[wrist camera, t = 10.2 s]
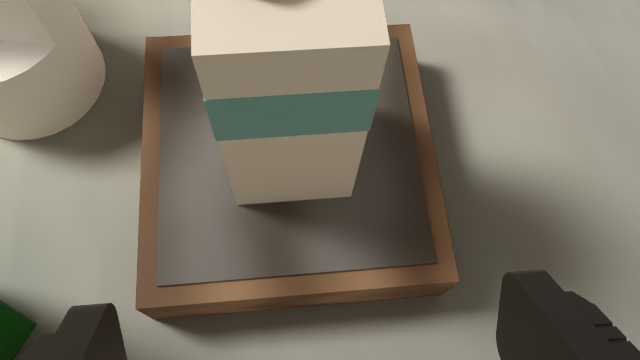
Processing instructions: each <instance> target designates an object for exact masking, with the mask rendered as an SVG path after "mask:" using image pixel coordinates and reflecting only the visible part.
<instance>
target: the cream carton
mask: <svg viewBox="0 0 640 360" xmlns="http://www.w3.org/2000/svg"><path fill="white" fill-rule="evenodd" d="M389 48H390V40H389V35H388V29H387V23H386V18H385V12H384V6H383V0H191V57H192V60H193V63H194V67H195V70H196V73H197V76H198V80H199V83H200V86H201V89H202V93H203V102H204V105H205V108H206V112H207V115H208V118H209V121H210V124H211V127H212V131H213V134H214V137H215V140H216V141H218V145H219V148H220V151H221V154H222V158H223V161H224V164H225V167H226V171H227V174H228V177H229V180H230V184H231V187H232V190H233V193H234V197H235V200H236V203H237V205H245V204H258V203H272V202H285V201H298V200H311V199H325V198H338V197H351V195H352V191H353V187H354V183H355V180H356V176H357V172H358V168H359V164H360V160H361V156H362V152H363V149H364V145H365V141H366V137H367V133H368V131H370V128H371V124H372V120H373V117H374V113H375V109H376V105H377V102H378V98H379V94H380V83H381V79H382V75H383V71H384V67H385V63H386V60H387V56H388V52H389Z"/></svg>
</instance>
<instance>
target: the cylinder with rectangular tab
mask: <svg viewBox="0 0 640 360" xmlns="http://www.w3.org/2000/svg"><path fill="white" fill-rule="evenodd" d="M105 70H106V67H105V63H104V59H103V55H102V52H101V50H100V49H99V47H98V45H97V43H96V41H95V40H94V38H93V36H92V34H91V32H90V31H89V29H88V27H87V25H86V24H85V22H84V20H83V18H82V16H81V15H80V13H79V11H78V9H77V7H76V6H75V4H74V2H73V0H0V138H5V139H10V140H16V141H17V140H35V139H39V138H43V137H46V136H50V135H53V134H56V133H58V132H60V131H62V130H64V129H66V128H68V127H70V126H71V125H73V124H74V123H76V122H77V121H78V120H79V119H80V118H82V117H83V116H84V115H85V114H86V113H88V111H89V110H90V109H91V107H92V106H93V105H94V103H95V102H96V101H97V99H98V98H99V95H100V93H101V90H102V88H103V85H104V82H105Z"/></svg>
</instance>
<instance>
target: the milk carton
mask: <svg viewBox="0 0 640 360" xmlns="http://www.w3.org/2000/svg"><path fill="white" fill-rule="evenodd" d="M34 326H35V323H34V322H32V321H31V320H29V319H28V318H26V317H25V316H23V315H22V314H20V313H19V312H17V311H16V310H14V309H13V308H11V307H10V306H8V305H6V304H5V303H3V302H2V301H0V360H14V358H15V356H16V355H17V353H18V351H19V350H20V348H21V347H22V345H23V343H24V342H25V340H26V339H27V337H28V335H29V334H30V332H31V331H32V329H33V327H34Z"/></svg>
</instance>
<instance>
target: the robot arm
mask: <svg viewBox="0 0 640 360" xmlns="http://www.w3.org/2000/svg"><path fill="white" fill-rule="evenodd" d="M496 341H497V348H498V352H499V355H500V358H501V360H640V351H639V350H638V349H637V348H636V347H635V346H634V345H633V344H632V343H631V342H630V341H628V342H627V340H626V337H625V336H624V335H623V334H622V332H621V331H620V330H619V329H618V328H617V327H616V326H615V327H613V325H612V322H611V321H610V320H609V319H608V318H607V317H606V316H605V315H604V314H603V312H602V311H601V310H600V309H599V308H598V307H597V306H596V305H594V304H592V303H591V302H589V301H587V300H586V299H584V298H582V297H581V296H579V295H577V294H576V293H574V292H572V291H571V292H564V291H563V290H562V289H561V288H560V286H559V285H558V284H557V283H556V282H555V281H554V280H553V279H552V277H551V276H550V275H549V274H548V273H547V272H546V271H544V270H530V271H518V272H507V273H505V275H504V277H503V279H502V286H501V294H500V303H499V312H498V321H497V330H496ZM17 360H127V356H126V352H125V347H124V342H123V338H122V333H121V329H120V324H119V319H118V315H117V311H116V308H115V306H114V305H113V304H112V303H106V304H94V305H81V306H73V307H71V308H70V309H69V311H68V312H67V314H66V316H65V317H64V319H63V321H62V323H61V324H60V326H59V328H58V330H57V331H56V333H55V334H43V335H42V336H41V337H40V338H38V339H37V340H36V341H35V342H34V343H33V344H31V345H30V346H29V347H28V348H27V349H25V350H24V351H23V352H22V353H21V354H20V355H19V357H18V359H17Z"/></svg>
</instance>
